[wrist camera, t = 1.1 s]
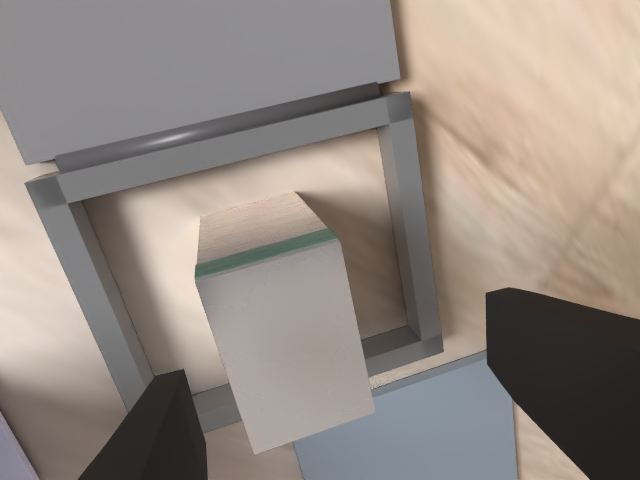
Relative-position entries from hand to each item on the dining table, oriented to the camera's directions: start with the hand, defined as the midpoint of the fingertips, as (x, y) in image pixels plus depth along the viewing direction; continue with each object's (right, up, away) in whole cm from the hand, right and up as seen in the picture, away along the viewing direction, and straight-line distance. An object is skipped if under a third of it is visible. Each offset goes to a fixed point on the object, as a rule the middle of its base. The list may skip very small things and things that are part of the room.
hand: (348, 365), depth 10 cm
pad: (+5, -10, +15) cm, 18 cm away
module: (-3, +2, +9) cm, 10 cm away
